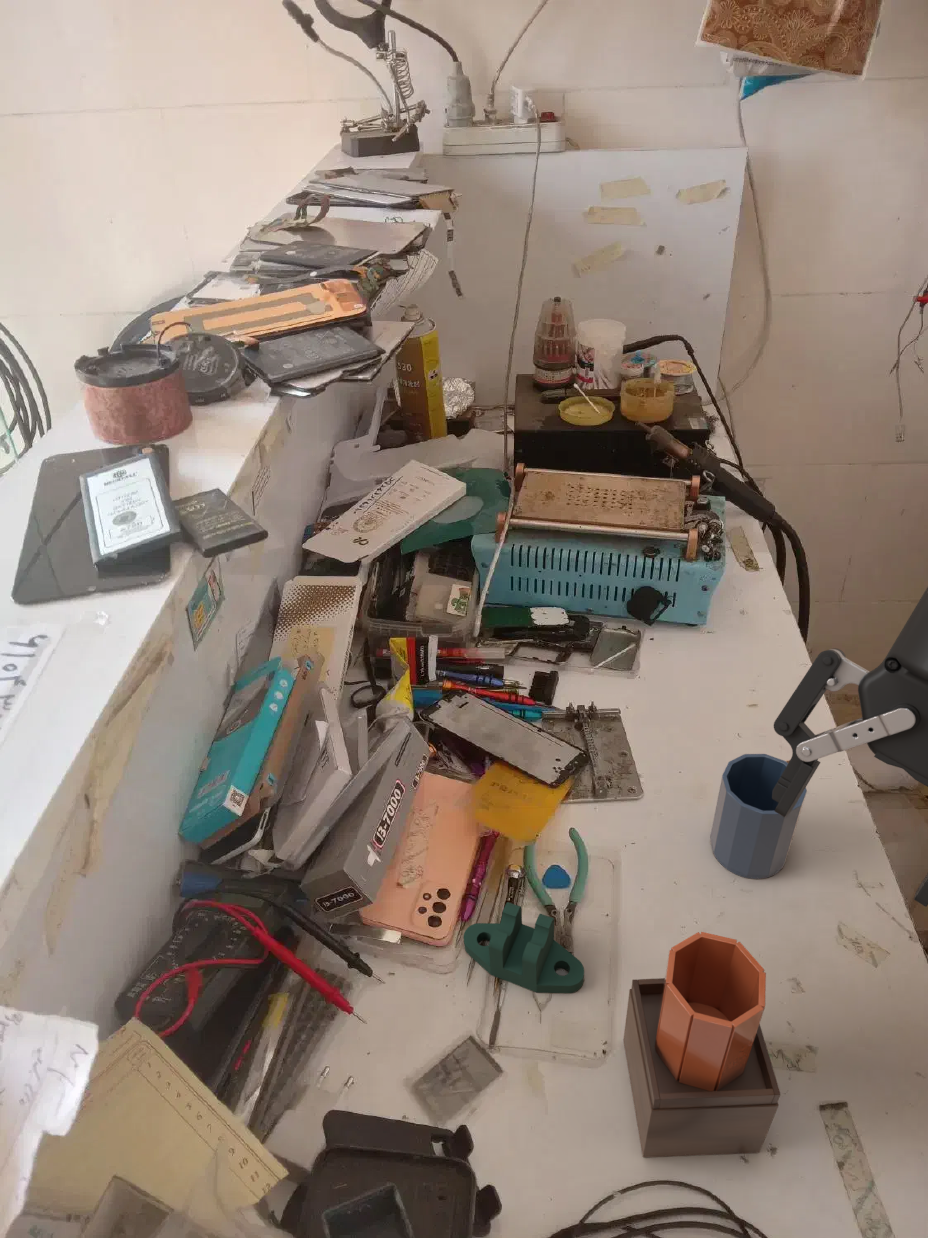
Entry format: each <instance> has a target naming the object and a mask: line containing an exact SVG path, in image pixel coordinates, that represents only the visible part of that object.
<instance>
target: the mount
mask: <svg viewBox="0 0 928 1238" xmlns="http://www.w3.org/2000/svg"><path fill="white" fill-rule="evenodd" d="M522 909H523V907H522V906H520V905H518V904H516V903H515V904H514V903H512V902H510V901H507V902H506V903H505V905H504V907H503V910H502V913H501V919H500V922H498V923H497V922H496V923H494V922H491V923H490V922H487V923H486V922H477V923H473V924H471V925H469V926H468V927H467V928H466V929H465V930H464V933H463V945H464V946H463V947H464V950H465V952H466V953H467V955H468V956H469V957H470V958H471V959H472V960H474V961H475V962H476V963H477V964H478V965H480V967H481V968H483V970H485V971H486V972H487V973H488V974H489V975H491V976H492V977H496V978H497V979H500V980H503V981H505V982H508V983H511V984H513V985H516V986H518V987H520V988H523V989H526V990H529V991H531V992H533V993H537V994H542V993H543V994H573V993H576V992H578V991H579V990H580V989H581V988H582V986H583V985H584V982H585V968H584V965H583V964H582V962H581V960H580V959H578V957H576V956H575V955H574V954H572V952H570V951H569V950H567V949H566V948H565V947H564V946H563V945H561V944H560V943H559V942H558V941H556V940H555V918H554V917H552V916H549V915H546V914H543V913H539V914H538V916H537V918H536V921H535V923H534V927H532V926H529V925H526V924H523V915H522V914H523V913H522V912H523V911H522ZM484 940H485V941H489V943H488V945H481V944H479V943H480V942H482V941H484ZM559 969H563V970H566V971H567V974H565V975H560V974H559V973H557V970H559Z"/></svg>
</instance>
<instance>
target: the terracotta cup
mask: <svg viewBox="0 0 928 1238" xmlns="http://www.w3.org/2000/svg"><path fill="white" fill-rule="evenodd" d="M664 978H665V981H664V986H663V992H662V998H661V1004H660V1010H659V1016H658V1023H657V1031H656V1039H655V1048H656V1050H655V1051H656V1052H657V1054H658V1055H659V1057H660V1058H661V1059H662V1061H663V1062H664V1064H665V1065H666V1066H667V1068H668V1069H669V1071H670V1072H671V1074H672V1075H673V1076H674V1078H675V1079H676V1080H678V1079H679V1083H683V1084H686V1085H690V1086H694V1087H697V1088H701V1089H704V1090H708V1091H714V1089H715V1091H718V1090H720V1089H721V1088H723V1087H724V1086H726V1085H727V1084H729V1083H730V1082H732V1081H733V1080H735V1079H736V1078H738V1077H739V1076H741V1075H742V1074H743V1072H744V1069H745V1066H746V1063H747V1060H748V1057H749V1054H750V1051H751V1048H752V1045H753V1042H754V1039H755V1036H756V1033H757V1030H758V1027H759V1024H760V1025H761V1021H762V1017H763V1014H764V1011H765V1008H766V990H767V989H766V987H767V986H766V985H767V973H766V972H765V969H764V968H763V966H762V965H761V964H760V963H759V962H758V960H757V959H756V958H755V956H753V955H752V953H750V951H748V949H747V948H746V947H745V946H744V945H743V944H742V943H741V941H738V939H735V938H731V937H727V936H722V935H718V934H713V933H710V932H706V931H700V932H698V931H697V932H696V933H694V934H692V935H691V936H689V937H687V938H686V939H683V940H682V941H680V942H679V943H677V944H676V945H674V946H672V947H671V948H670V949H669V952H668V958H667V964H666V969H665V974H664Z"/></svg>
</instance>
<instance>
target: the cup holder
mask: <svg viewBox="0 0 928 1238" xmlns="http://www.w3.org/2000/svg"><path fill="white" fill-rule="evenodd" d="M664 981H665V977H663V978H661V977H659V978H641V979H632V981H631V988H629V990H628V1000H627V1008H626V1016H625V1017H626V1018H625V1025H624V1033H623V1045H624V1051H625V1052H624V1053H625V1058H626V1063H627V1064H626V1065H627V1070H628V1075H629V1082H630V1083H629V1084H630V1088H631V1093H632V1100H633V1101H632V1102H633V1106H634V1113H635V1119H636V1125H637V1130H638V1138H639V1143H640V1149H641V1155H642V1157H643V1158H658V1157H659V1158H661V1157H685V1156H686V1157H687V1156H708V1155H735V1154H758V1153H760V1152H761V1150H762V1147H763V1145H764V1142H765V1140H766V1138H767V1135H768V1134H769V1130H770V1129H771V1128H770V1127H771V1125H772V1123H773V1121H774V1118H775V1115H776V1113H777V1111H778V1108H779V1100H780V1097H781V1091H780V1088H779V1084H778V1081H777V1077H776V1075H775V1071H774V1067H773V1064H772V1061H771V1057H770V1054H769V1050H768V1046H767V1044H766V1040H765V1037H764V1034H763V1029H762V1028H761V1027H762V1026H761V1023H760V1024H759V1027H758V1030H757V1033H756V1036H755V1039H754V1042H753V1045H752V1048H751V1051H750V1054H749V1057H748V1060H747V1063H746V1066H745V1069H744V1072H743V1074H742V1075H741V1076H739V1077H738V1078H736V1079H735V1080H733V1081H732V1082H730V1083H729V1084H727V1085H726V1086H724V1087H723V1088H721V1089H720V1090H718V1091H715V1089H714V1091H708V1090H704V1089H701V1088H697V1087H694V1086H690V1085H686V1084H683V1083H679V1079H678V1080H676V1079H675V1078H674V1076H673V1075H672V1074H671V1072H670V1071H669V1069H668V1068H667V1066H666V1065H665V1064H664V1062H663V1061H662V1059H661V1058H660V1057H659V1055H658V1054H657V1052H656V1051H655V1050H656V1048H655V1039H656V1031H657V1023H658V1016H659V1010H660V1004H661V998H662V992H663V986H664Z"/></svg>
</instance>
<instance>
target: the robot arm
mask: <svg viewBox="0 0 928 1238" xmlns="http://www.w3.org/2000/svg"><path fill="white" fill-rule="evenodd" d="M848 684H849V685H850V684H853V685H857V694H858V699H859V705H860V713H861V717H859V718H857V719H854V720H851V721H848V722H845V723H842V724H840V725H838V726H835V727H833V728H830V729H827V730H824V731H822V732H819V733H816V734H815V733H814V732H813V730H812V729H811V728H810V727H809V726H808V725H807V724H806V723H805V722H807V719H808V718H809V716H810V715H811V714H812V712H813V711H814V709H815V708H816V706H817V705H818V703H819V702H820V700H821V699H822V698H823V697H824V694H825V693H826V691H830V692H838V691H840V690H842V689H844V688H845V687H846V685H848ZM773 730H774V732H775V733H776V734H777V735H778V736H780V737H782V738H783V739H784V740H785V741H786V742H787V743H788V744H789V746H790V748H791V750H792V754H791V758H790V759H789V761H788V762H787V763H788V765H787V766H786V768H785V770H784V771H783V773H782V775H781V777H780V778H779V780H778V782H777V783H776V785H775V787H774V789H773V791H772V799H773V800H775V801H776V802H778V805H777V807H776V809H775V812H777V813H778V814H780V815H781V816H783V817H784V818H785V817H786V816H787V815H788V814H789V813H790V812H791V811H792V809H793V808H794V806H795V805H796V803H797V801H798V799H799V798H800V796H801V794H802V793H803V791H804V789H805V788H806V789H807V786H808V785H809V783H810V781H811V780H812V778H813V776H814V774H815V773H816V771H817V770H818V768H819V766H820V764H821V761H819V760H820V759H822V758H824V757H828V756H830V755H834V754H836V753H841V752H844V751H847V750H850V749H853V748H857V747H859V746H862V745H865V744H866V745H867V746H868V748H869V750H870V751H871V752H872V754H874V756H873V758H876V759H877V760H879V761H881V762H883V763H884V764H886V765H888V766H892V767H895V768H899V769H901V770H904V771H905V772H906V773H907V774H908V775H909V776H910V777H911V778H912V779H914V781H916V782H918V783H920V784H922V785H923V786H926V787H928V586H927V587H926V589H925V591H924V592H923V594H922V595H921V597H920V599H919V601H918V602H917V604H916V605H915V607H914V609H913V611H912V612H911V614H910V616H909V617H908V619H907V620H906V622H905V624H904V625H903V627H902V629H901V631H900V632H899V634H898V636H897V637H896V639H895V640H894V642H893V644H892V646H891V647H890V649H889V650H888V651H887V654H886V655H885V658H884V659H883V660H882V662H881V663H880V664H879V665H877V666H876V667H875V668H874V669H872V670H868V669H866V668H864V667H863V666H861V665H859V664H857V663H855V662H854V661H853V660H851V659H849V658H847V657H846V654H845V652H844V651H843V650H842V649H841V648H836V647H835V648H834V647H833V648H830V649H826V650H823V651H821V652H820V653H819V654H818V655H817V657H816V658H815V660H814V661H813V662H812V664H811V665H810V667H809V668H808V670H807V671H806V673H805V675H804V676H803V677H802V679H801V681H800V682H799V683H798V685H797V687H796V688H795V689H794V691H793V693H792V694H791V695H790V698H789V699H788V700H787V702H786V703H785V705H784V706H783V708H782V710H781V711H780V712H779V714H778V715H777V717H776V719H775V720H774V722H773ZM913 900H914V901H915V902H917V903H918V904H920V905H922V906H923V907H925V908H927V907H928V873H926V875H925V877H924V878H923V880H922V881H921V883H920V884H919V886H918V887H917V889H916V891H915V893H914V896H913Z"/></svg>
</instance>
